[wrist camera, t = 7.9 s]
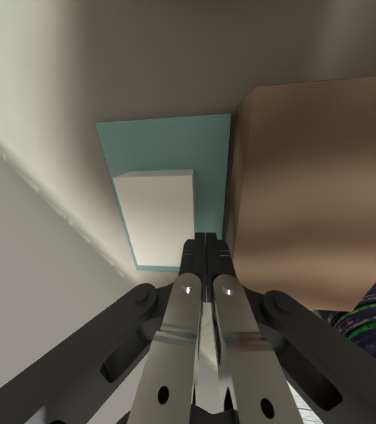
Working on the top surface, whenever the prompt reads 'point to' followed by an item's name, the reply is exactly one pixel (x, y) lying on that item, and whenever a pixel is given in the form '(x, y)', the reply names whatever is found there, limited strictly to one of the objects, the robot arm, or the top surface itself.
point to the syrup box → (304, 409)
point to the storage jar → (357, 322)
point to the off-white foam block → (158, 213)
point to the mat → (174, 160)
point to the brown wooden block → (306, 191)
